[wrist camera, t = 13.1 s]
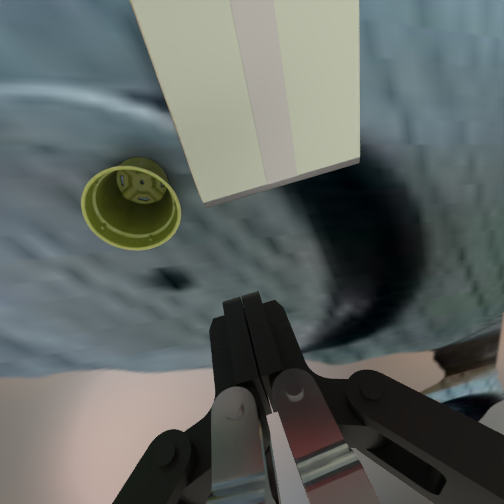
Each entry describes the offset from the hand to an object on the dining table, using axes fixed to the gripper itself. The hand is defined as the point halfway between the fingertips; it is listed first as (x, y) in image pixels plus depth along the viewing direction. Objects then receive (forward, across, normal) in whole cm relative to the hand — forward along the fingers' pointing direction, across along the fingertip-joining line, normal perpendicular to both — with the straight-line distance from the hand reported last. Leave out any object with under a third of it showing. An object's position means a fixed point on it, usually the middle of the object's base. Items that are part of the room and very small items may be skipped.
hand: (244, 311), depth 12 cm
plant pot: (+29, +9, +3) cm, 31 cm away
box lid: (+19, -6, -5) cm, 20 cm away
